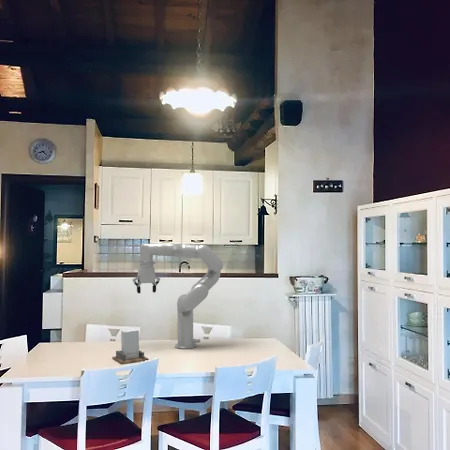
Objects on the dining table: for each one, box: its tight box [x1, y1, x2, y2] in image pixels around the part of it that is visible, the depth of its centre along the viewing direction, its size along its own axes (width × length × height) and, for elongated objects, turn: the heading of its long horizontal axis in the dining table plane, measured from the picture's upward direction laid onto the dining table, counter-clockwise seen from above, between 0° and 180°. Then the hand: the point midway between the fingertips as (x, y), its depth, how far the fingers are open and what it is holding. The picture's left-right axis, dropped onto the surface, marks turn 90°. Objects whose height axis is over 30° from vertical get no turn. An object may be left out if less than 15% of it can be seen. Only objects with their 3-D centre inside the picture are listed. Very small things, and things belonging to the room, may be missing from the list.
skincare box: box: [120, 328, 140, 359], centre depth 245 cm, size 8×6×15 cm
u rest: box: [111, 349, 150, 365], centre depth 245 cm, size 15×15×4 cm
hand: (146, 292), depth 273 cm, fingers open, 9 cm apart
